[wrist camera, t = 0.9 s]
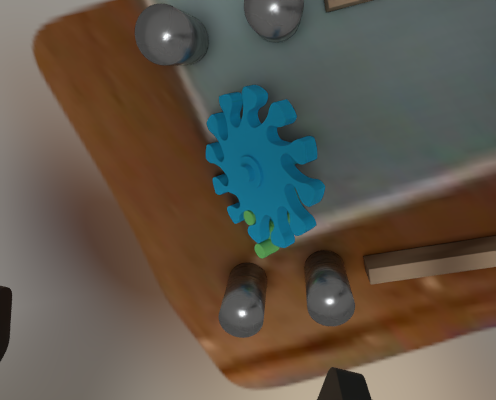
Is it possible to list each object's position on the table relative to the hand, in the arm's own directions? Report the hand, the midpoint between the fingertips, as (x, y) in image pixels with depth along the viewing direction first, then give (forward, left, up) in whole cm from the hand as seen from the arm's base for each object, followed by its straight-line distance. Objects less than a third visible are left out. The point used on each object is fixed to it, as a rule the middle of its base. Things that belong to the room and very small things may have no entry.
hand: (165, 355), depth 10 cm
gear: (-1, 0, -19) cm, 20 cm away
